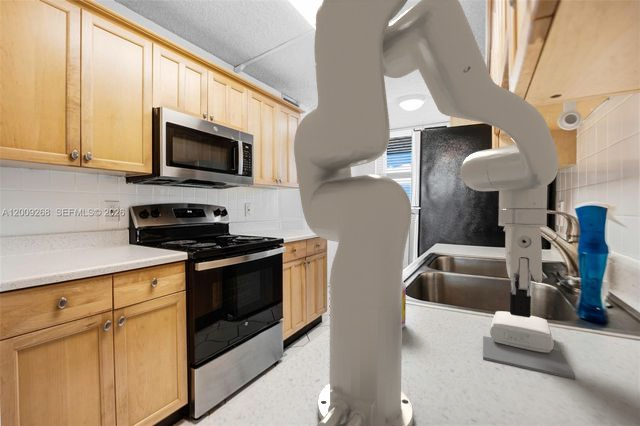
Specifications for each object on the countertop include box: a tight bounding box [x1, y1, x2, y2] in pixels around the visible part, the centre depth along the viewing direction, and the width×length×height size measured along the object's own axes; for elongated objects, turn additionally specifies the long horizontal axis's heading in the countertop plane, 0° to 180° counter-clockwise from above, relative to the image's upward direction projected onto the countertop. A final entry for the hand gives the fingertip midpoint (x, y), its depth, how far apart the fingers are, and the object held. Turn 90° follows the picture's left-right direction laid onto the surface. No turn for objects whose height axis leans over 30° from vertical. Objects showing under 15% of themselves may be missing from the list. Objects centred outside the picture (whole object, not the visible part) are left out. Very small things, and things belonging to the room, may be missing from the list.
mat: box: [482, 335, 576, 380], centre depth 56 cm, size 10×13×1 cm
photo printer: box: [489, 310, 555, 353], centre depth 62 cm, size 10×4×12 cm
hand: (519, 314), depth 57 cm, fingers closed
